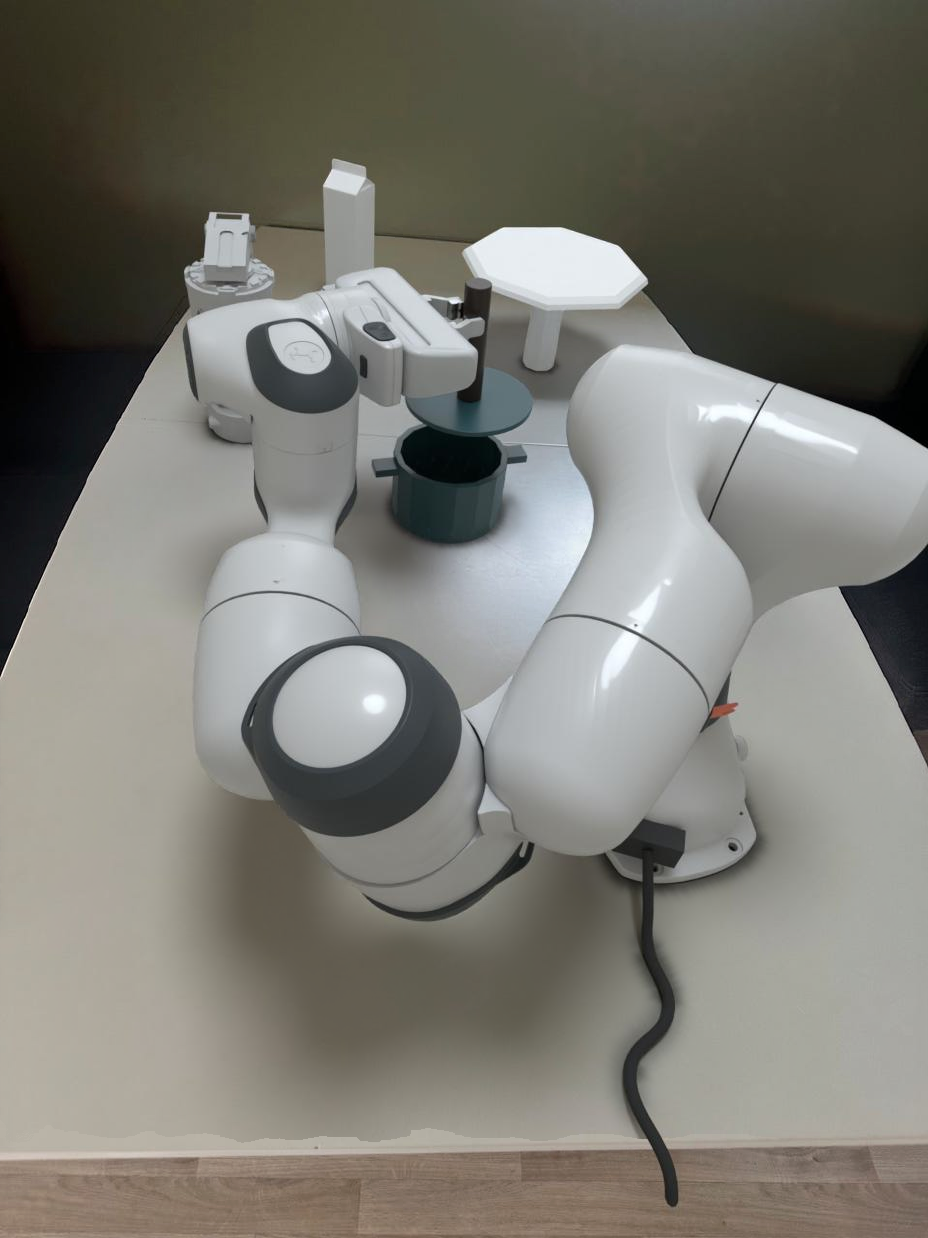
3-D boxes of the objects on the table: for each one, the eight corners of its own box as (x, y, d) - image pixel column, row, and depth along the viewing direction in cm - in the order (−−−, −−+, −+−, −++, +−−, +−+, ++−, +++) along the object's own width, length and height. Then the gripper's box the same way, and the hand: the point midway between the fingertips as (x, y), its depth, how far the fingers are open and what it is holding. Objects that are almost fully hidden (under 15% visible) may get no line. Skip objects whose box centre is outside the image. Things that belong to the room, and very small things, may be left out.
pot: (533, 533, 100) (544, 478, 94) (385, 552, 95) (386, 496, 89) (499, 468, 109) (507, 414, 103) (361, 483, 104) (361, 427, 98)
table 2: (621, 424, 119) (650, 317, 107) (437, 393, 121) (446, 284, 108) (624, 336, 139) (650, 238, 127) (466, 311, 140) (476, 210, 128)
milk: (343, 291, 141) (341, 152, 125) (374, 300, 139) (376, 161, 123) (326, 304, 137) (321, 162, 121) (357, 313, 135) (356, 171, 119)
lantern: (285, 444, 108) (269, 258, 90) (205, 444, 106) (173, 254, 88) (286, 393, 117) (273, 213, 99) (213, 392, 115) (185, 209, 97)
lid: (473, 457, 85) (485, 331, 75) (378, 402, 91) (377, 278, 81) (556, 408, 93) (577, 287, 83) (463, 360, 99) (472, 242, 89)
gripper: (311, 318, 87) (425, 300, 92) (392, 417, 75) (517, 390, 80) (309, 259, 82) (428, 244, 87) (395, 355, 70) (526, 331, 76)
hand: (472, 315), depth 84 cm, fingers closed on lid, 2 cm apart
